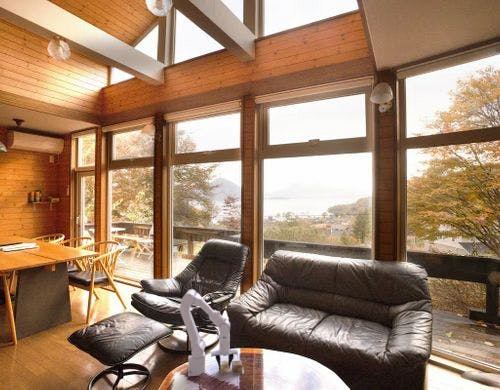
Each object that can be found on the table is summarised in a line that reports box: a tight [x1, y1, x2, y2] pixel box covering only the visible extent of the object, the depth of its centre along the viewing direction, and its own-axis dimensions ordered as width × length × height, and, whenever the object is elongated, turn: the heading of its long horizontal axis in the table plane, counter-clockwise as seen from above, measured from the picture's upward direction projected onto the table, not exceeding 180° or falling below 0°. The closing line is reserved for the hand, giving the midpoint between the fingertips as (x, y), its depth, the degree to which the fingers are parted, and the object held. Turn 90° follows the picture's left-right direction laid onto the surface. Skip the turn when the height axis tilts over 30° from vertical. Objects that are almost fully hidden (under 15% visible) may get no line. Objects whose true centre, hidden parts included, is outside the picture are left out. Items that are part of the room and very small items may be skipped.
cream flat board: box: [229, 366, 245, 375], centre depth 165 cm, size 11×8×1 cm
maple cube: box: [219, 360, 230, 374], centre depth 164 cm, size 4×4×4 cm
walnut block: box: [231, 360, 243, 373], centre depth 165 cm, size 5×5×4 cm
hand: (224, 368), depth 164 cm, fingers closed on maple cube, 4 cm apart
